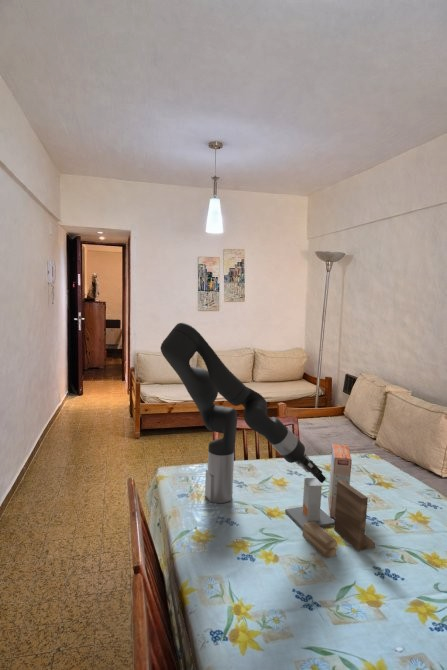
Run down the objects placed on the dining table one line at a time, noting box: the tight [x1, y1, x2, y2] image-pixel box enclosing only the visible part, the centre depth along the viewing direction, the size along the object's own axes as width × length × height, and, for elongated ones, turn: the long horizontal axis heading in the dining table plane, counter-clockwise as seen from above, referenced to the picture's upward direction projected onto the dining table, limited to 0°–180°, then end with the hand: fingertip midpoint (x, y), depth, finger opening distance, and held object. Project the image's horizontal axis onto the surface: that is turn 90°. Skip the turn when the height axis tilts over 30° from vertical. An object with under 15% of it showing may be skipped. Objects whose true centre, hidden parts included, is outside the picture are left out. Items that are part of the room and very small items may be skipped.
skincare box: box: [302, 477, 323, 521], centre depth 141 cm, size 6×4×12 cm
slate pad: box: [284, 506, 335, 531], centre depth 142 cm, size 12×12×1 cm
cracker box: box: [327, 443, 353, 518], centre depth 148 cm, size 14×6×21 cm, turn 168°
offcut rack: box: [301, 480, 376, 559], centre depth 128 cm, size 18×12×16 cm
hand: (316, 475), depth 141 cm, fingers open, 8 cm apart
